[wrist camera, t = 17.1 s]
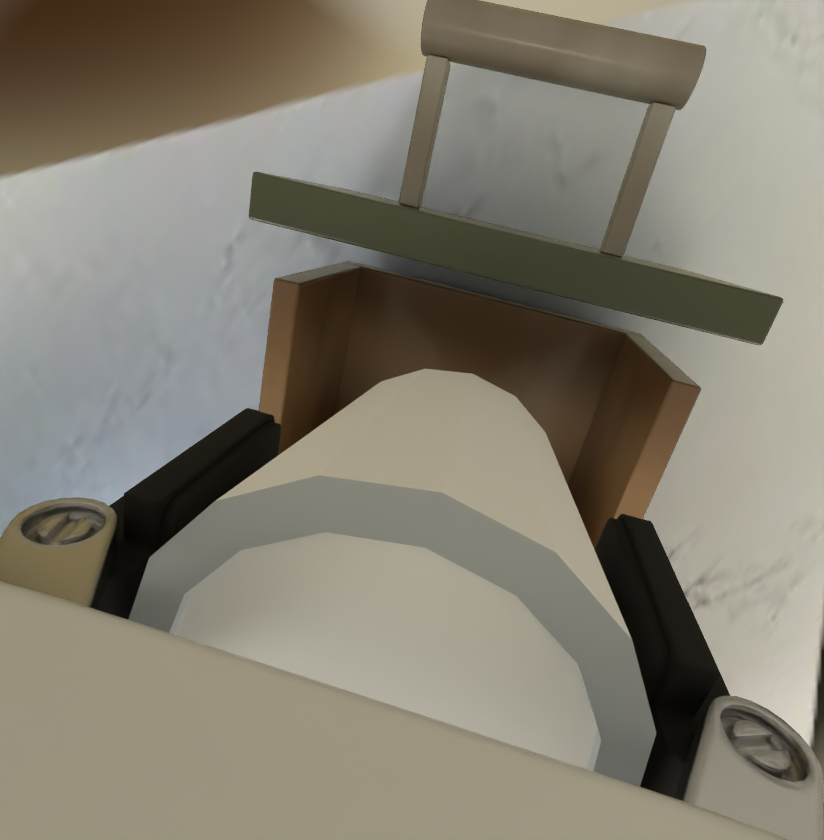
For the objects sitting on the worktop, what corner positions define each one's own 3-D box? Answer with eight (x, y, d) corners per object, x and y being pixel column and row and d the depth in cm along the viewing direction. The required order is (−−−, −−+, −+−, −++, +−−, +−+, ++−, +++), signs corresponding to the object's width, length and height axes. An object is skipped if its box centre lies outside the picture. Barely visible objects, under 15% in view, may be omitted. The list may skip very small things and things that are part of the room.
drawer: (366, 34, 19) (275, -81, 12) (750, 115, 18) (909, 43, 11) (288, 532, 27) (207, 645, 20) (549, 610, 26) (562, 760, 19)
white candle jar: (649, 470, 12) (803, 751, 6) (459, 637, 15) (417, 960, 8) (413, 277, 12) (285, 348, 5) (259, 486, 14) (45, 707, 8)
